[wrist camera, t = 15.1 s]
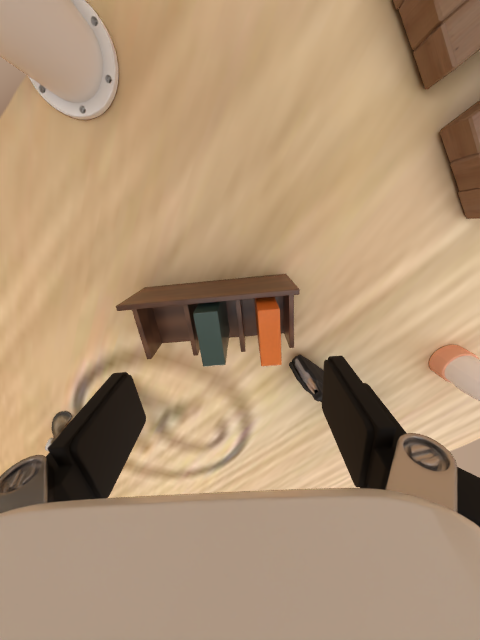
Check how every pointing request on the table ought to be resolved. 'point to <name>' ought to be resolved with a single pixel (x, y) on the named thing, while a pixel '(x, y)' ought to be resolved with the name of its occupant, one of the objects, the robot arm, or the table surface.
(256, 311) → the orange book
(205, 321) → the green book
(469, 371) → the pepper shaker
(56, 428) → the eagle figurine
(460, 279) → the table surface
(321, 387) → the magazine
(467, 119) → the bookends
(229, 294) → the book rack
